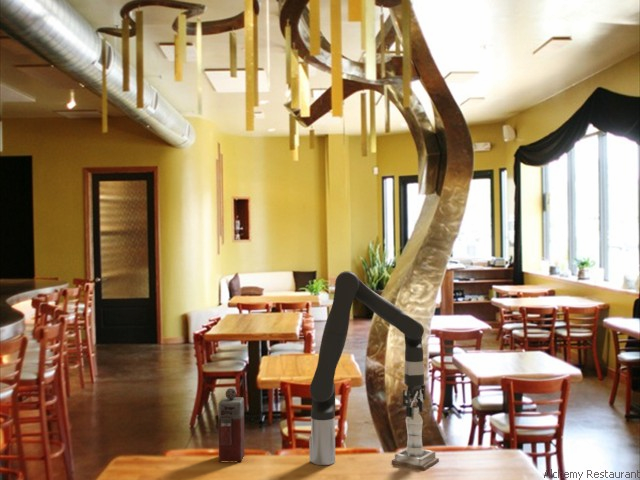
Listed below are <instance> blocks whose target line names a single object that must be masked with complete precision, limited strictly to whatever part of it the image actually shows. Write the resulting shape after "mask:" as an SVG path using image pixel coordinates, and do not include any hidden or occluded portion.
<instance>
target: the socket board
mask: <svg viewBox="0 0 640 480" xmlns="http://www.w3.org/2000/svg"><path fill="white" fill-rule="evenodd" d="M406 449H407V447H405V448H404V449H402V450H400V451H398V452H396V453H395V454H394V458H393V459H392V460H391V464H393V465H397V466H402V467H405V468H411V469H416V470H421V471H426V470H428V469H430V468H431V467H433V466H434V465H436V464H437V463H438V462H440V458H438V457H436V450H435V451H434V450H430V449H424V448H423V450H424V455H423V457H421V458H417V457H412V456H407V453H406Z"/></svg>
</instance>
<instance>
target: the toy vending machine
mask: <svg viewBox="0 0 640 480" xmlns="http://www.w3.org/2000/svg"><path fill="white" fill-rule="evenodd" d="M237 394H238V392H237V389H236V388H234V387H228V388H227V389H226V391H225V397H222V398H221V399H220V400H219V402H218V403H217V405H218V406H217V408H218V409H217V410H218V412H217V413H218V417H217V418H218V462H219V461H242V462H243V460H244V458H243V457H245V399H244V397H243V396H242V397H241V396H240V397H239V396H238V397H237ZM242 459H243V460H242Z"/></svg>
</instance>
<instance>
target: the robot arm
mask: <svg viewBox="0 0 640 480" xmlns="http://www.w3.org/2000/svg"><path fill="white" fill-rule="evenodd" d="M334 283H335V284H334V293H333V298H332V304H331V308H330V311H329V312H328V316H327V318H326V321H325V324H324V328H323V332H322V335H321V341H320V347H319V350H318V351H319V353H318V359H317V365H316V368H315V371H314V375H313V378H312V380H311V383H310V386H309V394H310V397H311V410H310V421H311V422H310V425H311V427H310V431H311V432H310V433H311V435H310V436H309V438H308V439H309V440H308V444H309V445H308V447H309V449H308V450H309V462H311V463H312V464H314V465H317V466H329V465H334V464H335V462H336V424H335V423H336V422H335V421H336V420H335V418H336V417H335V412H336V385H335V381H334V380H335V374H336V371H337V370H336V369H337V366H338V365H339V362H340V359H341V357H342V353H343V351H344V348H345V344H346V341H347V337H348V331H349V327H350V326H349V325H350V318H351V317H350V316H351V310H352V308H353V307H352V306H353V304H354V299H356V300H357V301H359V302H361V303H362V304H364V305H365V306H366V307H368V308H369V309H370V310H371V311H372V312H373V313H375V314H376V315H377V316H378V317H380V319H382V320H383V321H385V322H387V323H388V324H389V325H391V326H392V327H395V329H397V330H398V331H400V333H402V334H403V335H404V345H405V349H404V367H403V368H404V370H403V371H404V374H403V375H404V385H406V386H407V388H406V389H403V390H402V406H403V407H405V409H406V411H405V414H406V417H412V406H414V405H413V404H414V403H415V402H416V406H418V407H419V412H418V413H423V410H424V409H423V408H424V407H423V403H424V401H425V400H426V397H427V396H426V384H425V366H424V365H425V364H424V349H423V344H422V343H423V336H424V333H425V328H424V326H423V325H422V323H421V322H420V321H418V320H416V319H414V318H413V317H411V316H410V315H408V314H407V313H405V312H404V311H403V310H402V309H401V308H400V307H398V306H396V305H395V303H394V304H393V303H392V302H390V301H389V299H388V300H387V298H385V297H383V296H381V295H380V294H378V293H376V292H375V291H374V290H373V289H371V288H369V287H368V286H367V285H366V284H365V282H364V281H362V280H361V279H360V278H359V277H358V275H357V274H356V273H354V272H353V271H349V270H346V271H345V270H343V272H340V273H339V274H338V275H337V276H336V278H335V282H334Z"/></svg>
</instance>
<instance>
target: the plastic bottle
mask: <svg viewBox="0 0 640 480" xmlns="http://www.w3.org/2000/svg"><path fill="white" fill-rule="evenodd" d="M423 423H424V421H423V417H422V416H421V414H420V412H419V407H418V406H417V405H412V417H407V416H406V417H405V426H406V431H407V432H406V434H407V442H406V448H407V449H406V453H407V456H412V457H417V458H421V457H423V455H424V450H423V449H424V447H423V446H424V445H423V437H422V436H423V434H422V433H423V432H422V431H423Z"/></svg>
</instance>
